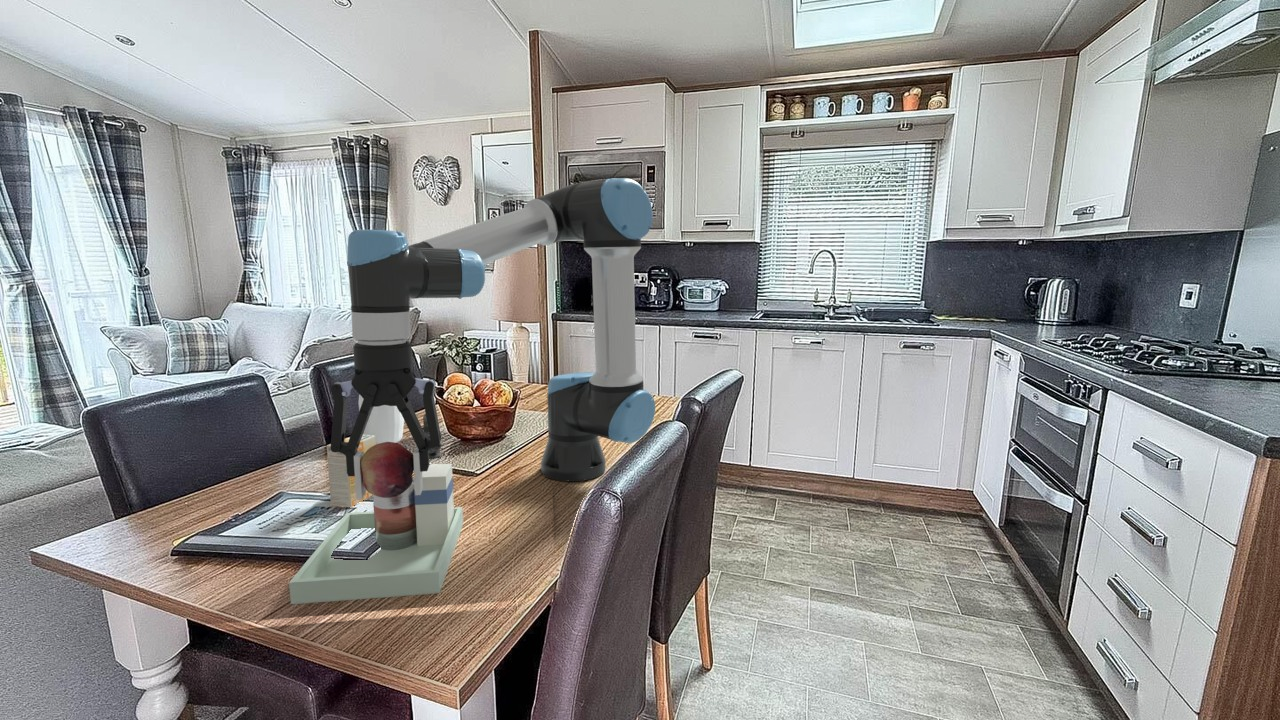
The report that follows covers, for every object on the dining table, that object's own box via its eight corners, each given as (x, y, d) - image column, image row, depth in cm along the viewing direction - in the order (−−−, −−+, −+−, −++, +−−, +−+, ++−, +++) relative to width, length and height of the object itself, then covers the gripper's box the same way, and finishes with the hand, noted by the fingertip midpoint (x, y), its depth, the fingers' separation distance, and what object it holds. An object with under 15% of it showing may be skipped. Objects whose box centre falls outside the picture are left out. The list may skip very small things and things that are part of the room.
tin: (425, 529, 98) (422, 475, 96) (416, 549, 91) (412, 491, 89) (383, 531, 96) (379, 477, 95) (370, 551, 90) (366, 493, 88)
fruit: (379, 484, 86) (376, 435, 85) (426, 487, 85) (424, 437, 84) (349, 505, 78) (345, 451, 77) (401, 508, 78) (398, 453, 76)
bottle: (412, 434, 155) (407, 345, 151) (397, 447, 144) (391, 351, 140) (371, 435, 154) (365, 345, 150) (353, 447, 143) (346, 351, 139)
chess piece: (431, 450, 142) (429, 405, 140) (448, 454, 139) (446, 408, 137) (413, 457, 137) (410, 410, 135) (430, 461, 134) (428, 413, 132)
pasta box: (454, 527, 98) (452, 463, 97) (448, 544, 92) (446, 476, 91) (425, 529, 98) (421, 464, 96) (417, 546, 92) (413, 477, 90)
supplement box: (351, 512, 106) (347, 447, 104) (330, 509, 107) (325, 445, 104) (380, 495, 114) (376, 434, 112) (359, 493, 115) (355, 432, 112)
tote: (463, 527, 100) (462, 506, 100) (440, 597, 79) (438, 572, 78) (348, 534, 97) (346, 512, 96) (291, 609, 76) (288, 582, 75)
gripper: (458, 337, 84) (462, 479, 88) (312, 338, 79) (322, 489, 83) (455, 343, 77) (460, 498, 81) (293, 345, 72) (306, 510, 76)
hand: (390, 493), depth 82 cm, fingers closed on fruit, 7 cm apart
